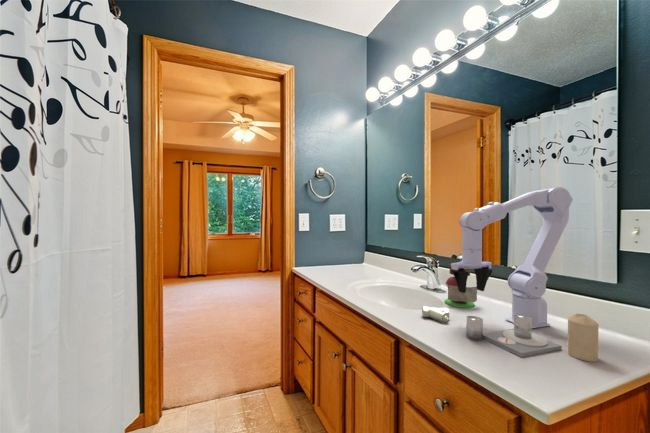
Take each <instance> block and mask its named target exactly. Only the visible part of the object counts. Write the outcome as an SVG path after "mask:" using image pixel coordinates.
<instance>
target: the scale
mask: <svg viewBox="0 0 650 433" xmlns="http://www.w3.org/2000/svg"><path fill="white" fill-rule="evenodd" d="M483 340H486V341H487V342H490V343H491V344H494V346H495V345H496V346H497V347H499V348H502V349H503V350H505V351H508V352H510V353H512V354H514V355H516V356H518V357H519V358H525V357H530V356H535V355H536V356H537V355H541V354H545V353H546V354H547V353H551V352H552V353H553V352H556V351H562V349H563V348H562V345H561V344H559V343H557V342H553V341H551V340H548V339H547V338H545V337H543V336H541V335H539V334H537V333H533V332H532V339H521V338H518V337H516V336H514V328H509V329H502V330H495V331H489V332H483Z"/></svg>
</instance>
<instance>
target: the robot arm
mask: <svg viewBox="0 0 650 433" xmlns="http://www.w3.org/2000/svg"><path fill="white" fill-rule="evenodd" d="M573 202H574V200H573V197H572V195H571V194H570V192H569V190H568V189H567V188H565V187H562V186H557V187H551V188H545V189H537V190H533V191H529V192H528V191H527V192H526V193H524V194H521V195H519V196H517V197H515V198H511V199H510V200H508V201H505V202H502V203H501V202H498V201H495V202H494V201H490V202H487V205H484V206H482V207H480V208H479V207H476V208H474V209H473V211H469V212H468V211H467V212H464V213H463V214H462V215H461V216H460V219H459V220H458V224H459V226H460V227H461V229H462V231H461V232H462V234H461V235H462V236H461V260H460V261H458V262H452V263H450V265H451V272H452V273H453V277H455V280H456V282H457V286H458V290H459V292H462V293H465V292H466V287H467V281H468V278H469V276H468V275H469V272H466V271H465V270H464V269H470V270H472V269H473V270H474V274H475V279H476V283H475V284H476V286H477V291H480V292H485V288H486V285H487V282H488V280H489V277H491V274H493V269H492V261H491V262H490V261H483V229H485V227H486V226H488V225H490V224H493V223H495V222H498V221H500V220H502V219H503V220H504V219H505V218H506V216H507V213H509V212H510V213H511V212H513V211H516V210H519V209H522V208H525V207H527V206H529V207H530V206H532V207H533V208H534V210H536V212H538V213H539V214H540V215H541V216H542V218H543V219H544V222H543V224H542V226H541V228H540V230H539V232H538V233H537V236H536V237H535V240H534V242H533V244H532V246H531V248H530V250H529V252H528V254H527V256H526V259H525V260H524V263H522V264H520V265H519V266H517V267H516V268H515V270H514V271H513V272H512V273H511V274H509V276H508V278H507V285H508V287H509V288H510V289H511V293H512V294H511V298H512V299H511V303H512V304H511V317H509V318H508V317H507V318H505V321H507V322H510V323H513V324H514V314H525V315H528V316H531V317H532V329H536V328H537V329H538V328H543V327H550V326H551V324H550V323H548V303H547V301H546V299H545V298H544V297H543V295H544V294H545V293H546V290H547V282H548V279H549V277H548V276H547V273H546V272H545V270H546V267H547V265H548V264H549V261H550V260H551V257H552V254H553V253H554V251H555V249H556V247H557V245H558V243H559V241H560V239H561V237H562V234H563V233H564V230H565V228H566V226H567V224H568V223H569V220H570V207H571V205H572V203H573Z"/></svg>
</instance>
